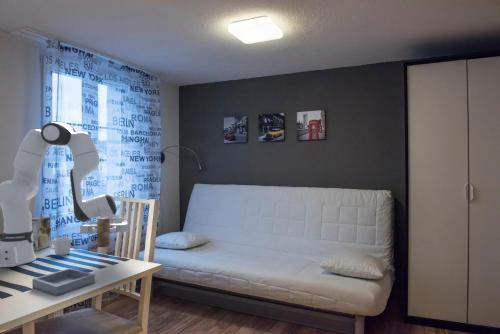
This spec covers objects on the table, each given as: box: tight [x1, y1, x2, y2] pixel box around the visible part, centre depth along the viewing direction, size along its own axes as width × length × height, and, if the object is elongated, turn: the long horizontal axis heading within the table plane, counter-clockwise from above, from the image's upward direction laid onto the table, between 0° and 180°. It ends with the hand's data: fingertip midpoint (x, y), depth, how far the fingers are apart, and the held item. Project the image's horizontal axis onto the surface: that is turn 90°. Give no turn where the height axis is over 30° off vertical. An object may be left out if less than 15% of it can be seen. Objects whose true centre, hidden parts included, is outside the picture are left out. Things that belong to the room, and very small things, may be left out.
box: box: [31, 267, 96, 297], centre depth 135 cm, size 15×15×4 cm
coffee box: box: [32, 216, 52, 251], centre depth 189 cm, size 9×6×16 cm
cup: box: [49, 236, 72, 256], centre depth 177 cm, size 11×8×8 cm
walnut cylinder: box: [96, 217, 111, 248], centre depth 152 cm, size 5×5×12 cm
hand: (103, 231), depth 151 cm, fingers closed on walnut cylinder, 5 cm apart
